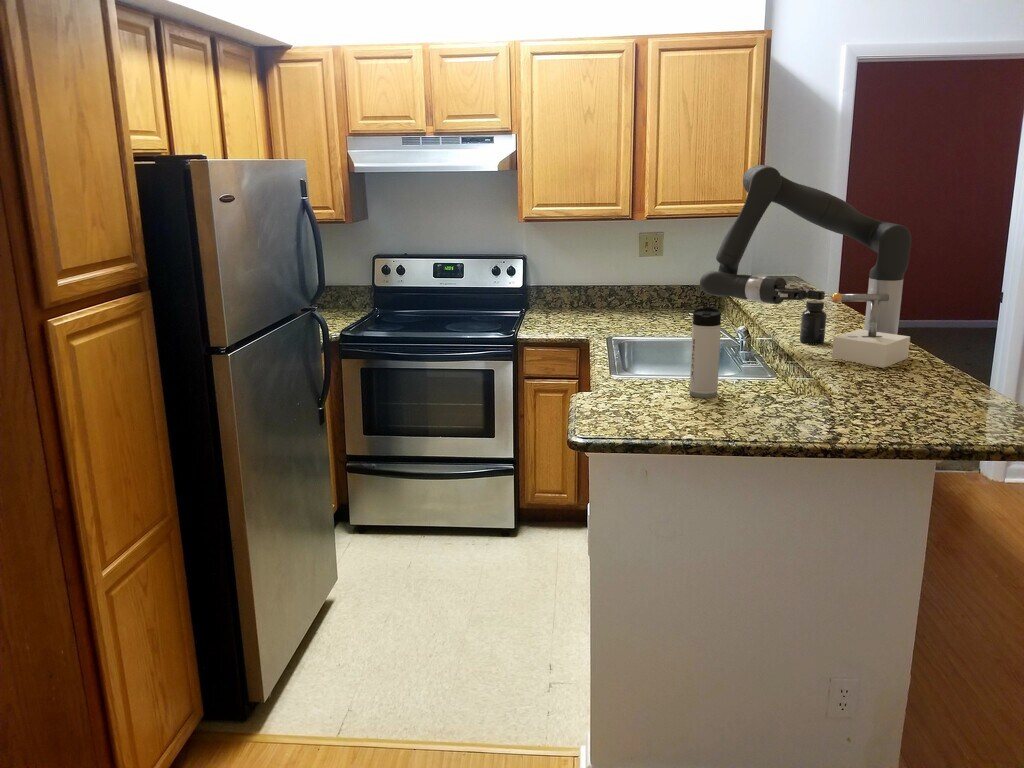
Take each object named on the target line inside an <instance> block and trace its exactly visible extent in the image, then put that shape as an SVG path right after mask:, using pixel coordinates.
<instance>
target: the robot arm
mask: <svg viewBox="0 0 1024 768" xmlns="http://www.w3.org/2000/svg"><path fill="white" fill-rule="evenodd" d="M742 184H743V187H744V190H745V192H746V193H747V195H746V199H745V201H744V204H743V206H742V208H741V211H740V212H739V215H738V216H737V217H736V219H735V220H734V222H733V223H732V224H731V226H730V227H729V229H728V230H727V232H726V234H725V236H724V237H723V240H722V242H721V245H720V247H719V249H718V250H717V253H716V256H715V257H716V259H715V260H716V261H717V263H719V266H718V270H709V271H707V272H705V273H703V275H702V276H701V277H700V280H699V287H700V289H701V290H702V291H703V292H704V293H705V294H706V295H710V296H714V297H715V296H716V297H725V296H726V297H731V298H735V299H739V300H740V299H741V300H748V301H753V302H757V303H763V304H769V305H770V304H772V305H780V304H782V303H783V302H784V301H803V300H807V301H808V300H813V301H823V300H825V297H826V296H825V295H826V294H825V291H822V290H821V291H820V290H814V288H813V287H811V286H807V285H805V284H803V285H802V286H801V285H797V284H793V283H792V284H791V283H790V284H787V281H786V280H785V278H783V277H782V276H780V277H779V276H771V275H752V274H738V271H739V266H740V262H741V260H742V258H743V256H744V253H745V252H746V250H747V247H748V245H749V243H750V241H751V238H752V236H753V234H754V232H755V231H756V228H757V226H758V225H759V224H760V221H761V219H762V217H763V216H764V214H765V213H766V211H767V209H768V208H769V206H770V204H771V203H775V204H777V205H780V206H781V207H784V208H785V209H787V210H789V211H790V212H792V213H793V214H795V215H797V216H798V217H801V219H804V220H806V221H807V222H809V223H812V224H813V225H816V226H818V227H821V228H822V229H825V230H827V231H830V232H833V233H835V234H838V235H843V236H846V237H849V238H851V239H853V240H855V241H857V242H858V243H861V244H862V245H864V246H866V247H867V248H868V249H871V251H873V252H875V253H877V258H876V262H875V265H874V266H873V267H871V268H870V270H869V276H868V277H869V278H868V288H867V294H889V300H888V301H880V303H879V313H878V323H877V332H881V333H889V334H896V335H898V331H899V321H900V313H901V305H902V296H903V285H904V278H905V273H906V271H907V269H908V266H909V261H910V255H911V249H912V234H911V232H910V230H909V229H908V227H906V226H905V225H902V224H898V223H892V222H886V221H882V220H879V219H876V218H874V217H871V216H868V215H865V214H864V213H862V212H860V211H858V210H857V209H856V208H855V207H854V206H852V205H851V204H850V203H848V201H845V200H843V199H842V198H839V197H837V196H836V195H833V194H831V193H828V192H826V191H824V190H821V189H817V188H814V187H811V186H807V185H805V184H802V183H798V182H795V181H792V180H790V179H788V178H786V177H785V176H783V175H781V173H780V171H778V169H776V168H775V167H773V166H770V165H766V164H757V165H754V166H752V167H750V168H749V169H747V170H746V171H745V173H744V174H743V177H742ZM870 310H871V301H870V302H866V308H865V315H864V316H865V318H864V327H863V330H867V331H868V330H869V320H870Z"/></svg>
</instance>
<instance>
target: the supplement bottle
mask: <svg viewBox="0 0 1024 768" xmlns="http://www.w3.org/2000/svg"><path fill="white" fill-rule="evenodd" d="M824 306H825V301H822V300H807V301H806V304H805V310H804V311H802V313H801V321H800V330H799V331H800V332H799V342H800V341H801V342H800V343H802V342H803V343H802V344H805V343H808V344H807V345H822V344H824V343H825V337H826V327H827V315H828V314H827V313H826V312H825V311H824V309H825V307H824Z"/></svg>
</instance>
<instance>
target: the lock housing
mask: <svg viewBox="0 0 1024 768" xmlns="http://www.w3.org/2000/svg"><path fill="white" fill-rule="evenodd" d="M832 342H833V343H832V344H833V345H832V354H831V359H832V358H837V359H843V360H847V361H852V362H851V363H853V362H856V363H855V364H858V363H861V364H860V365H864V364H866V365H865V366H872V367H875V368H877V367H878V368H882V369H886V368H887V367H889V366H893V365H895V364H897V363H900V362H903V361H905V360H907V359H908V358H909V351H910V343H911V336H908V335H903V334H902V335H901V334H897V335H896V334H889V333H881V332H876V336H868V331H867V330H864V329H860V328H859V329H855V330H852V331H849V332H846V333H842V334H838V335H836V336H833V341H832ZM847 361H846V362H847Z"/></svg>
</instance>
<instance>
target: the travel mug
mask: <svg viewBox="0 0 1024 768" xmlns="http://www.w3.org/2000/svg"><path fill="white" fill-rule="evenodd" d="M721 320H722V311H721V310H720V309H717V308H714V307H713V306H704V307H702V308H701V307H700V308H696V309H695V310H693V311H692V323H691V324H692V327H691V328H692V329H691V349H690V350H691V351H690V352H691V353H690V373H689V375H690V377H689V394H690V396H692V397H694V398H698V399H712V398H715V397H717V395H718V389H719V387H718V386H719V369H720V349H721V329H722V326H721V325H722V324H721Z"/></svg>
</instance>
